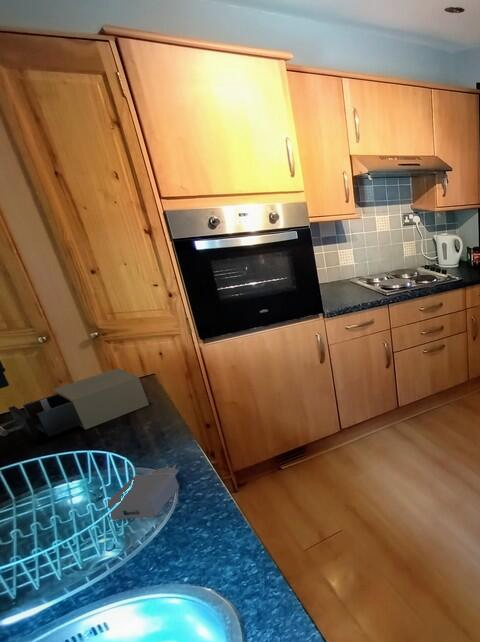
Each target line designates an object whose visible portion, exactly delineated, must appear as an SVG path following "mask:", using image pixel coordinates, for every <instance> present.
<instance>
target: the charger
mask: <svg viewBox="0 0 480 642" xmlns="http://www.w3.org/2000/svg"><path fill="white" fill-rule="evenodd" d="M176 467H177V465H176V464H174V465H173V466H172V467H170V466H169V465H165V467H159V468H157V469H156V470H155V469H154V471H152V473H147V474H145V473H144V474H138V475H135V476H132V477H131V478H130V479H129V480H128V481H127V482H126V483H125V484H124V485H123V487H121V488H120V489H119V491H118V490H117V492H116V493H115V494H114V495H113V496H112V497H111V498H110V499H109V500H108V501H107V502H108V508H111V507H112V506H113V505H115V504H116V503H118V502H120V501H121V495H122V493H123V492H125V491H126V490H127V489H128V488H129V486H130V484H131V482H132V480H134V481H133V485H132V488H131V490H129V491H128V493H127V494H126V495H125V496H124V498H123V500H122V501H121V503H120V504H119V505H118V506H117V507H116V508H115V509H114V510H113V511H112V512H111V518H112V519H111V518H110V519H111V520H113V521H114V520H130V519H143V518H154V517H156V516H157V515H158V514H159V513H160V512H161V510H162V509H163V508H164V507H165V506H166V505H167V503H168V502H169V501H170V500H171V498H172V497H173V496H174V495H175V494H176V493H177V491H178V490H179V489H180V485H179V482H178V480H177V479H178V478H177V477H176V476H177V475H178V473H179V472H180V470H178V469H177V468H176ZM104 507H105V504H104Z"/></svg>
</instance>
